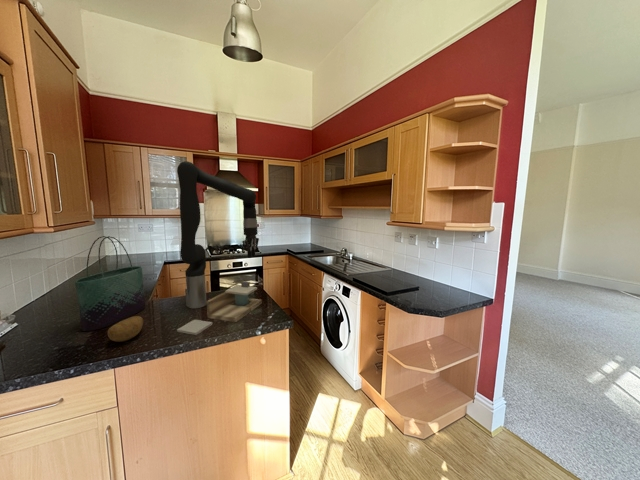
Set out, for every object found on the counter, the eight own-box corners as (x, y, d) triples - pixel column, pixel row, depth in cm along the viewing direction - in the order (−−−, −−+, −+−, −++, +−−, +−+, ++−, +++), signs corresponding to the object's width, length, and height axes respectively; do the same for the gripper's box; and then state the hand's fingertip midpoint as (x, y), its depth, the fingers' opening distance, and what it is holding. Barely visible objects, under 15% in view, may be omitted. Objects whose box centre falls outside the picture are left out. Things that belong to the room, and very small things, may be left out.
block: (235, 307, 135) (234, 293, 134) (240, 304, 140) (240, 290, 139) (243, 308, 134) (242, 294, 133) (248, 305, 138) (248, 291, 137)
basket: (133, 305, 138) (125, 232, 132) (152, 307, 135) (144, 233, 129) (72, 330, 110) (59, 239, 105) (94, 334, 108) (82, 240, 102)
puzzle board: (207, 317, 123) (206, 301, 122) (237, 300, 146) (236, 285, 145) (235, 322, 118) (235, 305, 117) (261, 303, 141) (261, 288, 140)
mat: (177, 331, 110) (177, 329, 110) (194, 321, 119) (194, 319, 119) (196, 335, 107) (195, 332, 107) (212, 324, 116) (212, 322, 116)
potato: (152, 330, 111) (150, 313, 110) (124, 348, 97) (122, 328, 96) (131, 329, 112) (129, 312, 111) (101, 346, 98) (98, 327, 97)
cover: (225, 292, 133) (224, 286, 132) (236, 286, 142) (236, 280, 142) (246, 295, 129) (246, 288, 129) (257, 289, 138) (256, 283, 138)
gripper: (251, 225, 149) (252, 254, 151) (237, 227, 136) (238, 258, 138) (262, 225, 147) (263, 254, 149) (249, 227, 134) (250, 259, 136)
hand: (251, 256), depth 144 cm, fingers open, 3 cm apart
